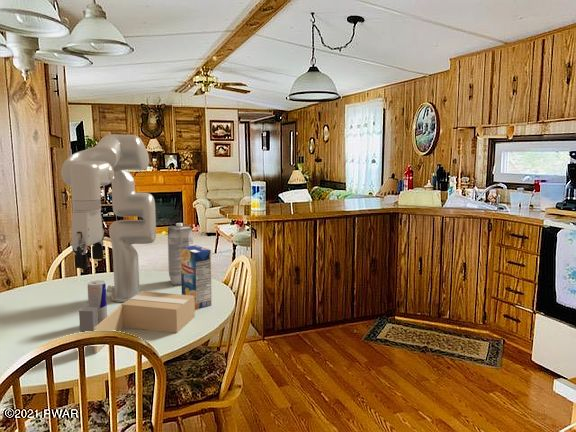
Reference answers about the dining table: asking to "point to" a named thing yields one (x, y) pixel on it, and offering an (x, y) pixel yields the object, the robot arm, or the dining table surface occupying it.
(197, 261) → the beverage box
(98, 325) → the side flap
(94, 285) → the beverage can
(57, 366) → the dining table surface
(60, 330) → the dining table surface
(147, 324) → the kraft carton
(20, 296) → the dining table surface
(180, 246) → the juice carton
